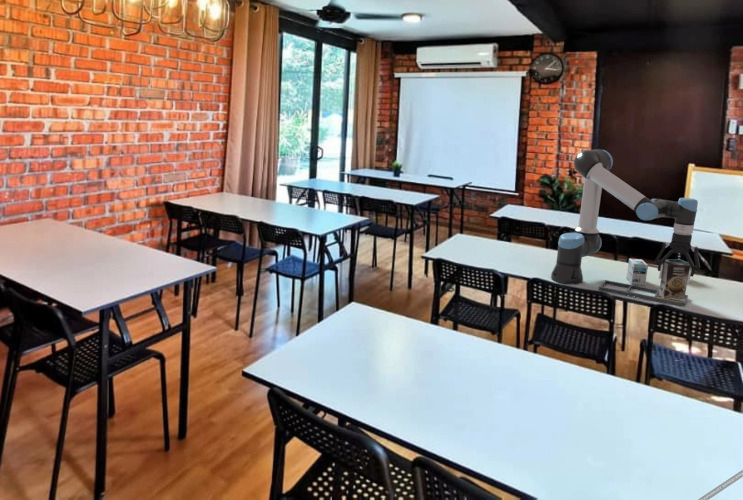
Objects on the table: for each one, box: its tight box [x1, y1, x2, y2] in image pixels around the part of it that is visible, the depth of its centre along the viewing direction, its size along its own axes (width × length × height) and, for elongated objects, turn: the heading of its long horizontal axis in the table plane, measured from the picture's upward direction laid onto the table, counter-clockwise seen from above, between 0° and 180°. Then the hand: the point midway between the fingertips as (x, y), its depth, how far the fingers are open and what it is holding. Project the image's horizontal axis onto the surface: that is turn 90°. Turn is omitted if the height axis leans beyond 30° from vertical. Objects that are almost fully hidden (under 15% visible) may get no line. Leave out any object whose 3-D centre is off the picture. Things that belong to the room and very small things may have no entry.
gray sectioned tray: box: [598, 279, 689, 308], centre depth 249 cm, size 36×13×2 cm, turn 56°
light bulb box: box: [625, 258, 649, 286], centre depth 267 cm, size 11×7×11 cm, turn 168°
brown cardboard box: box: [658, 261, 691, 300], centre depth 241 cm, size 9×6×16 cm
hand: (673, 280), depth 241 cm, fingers closed on brown cardboard box, 10 cm apart
